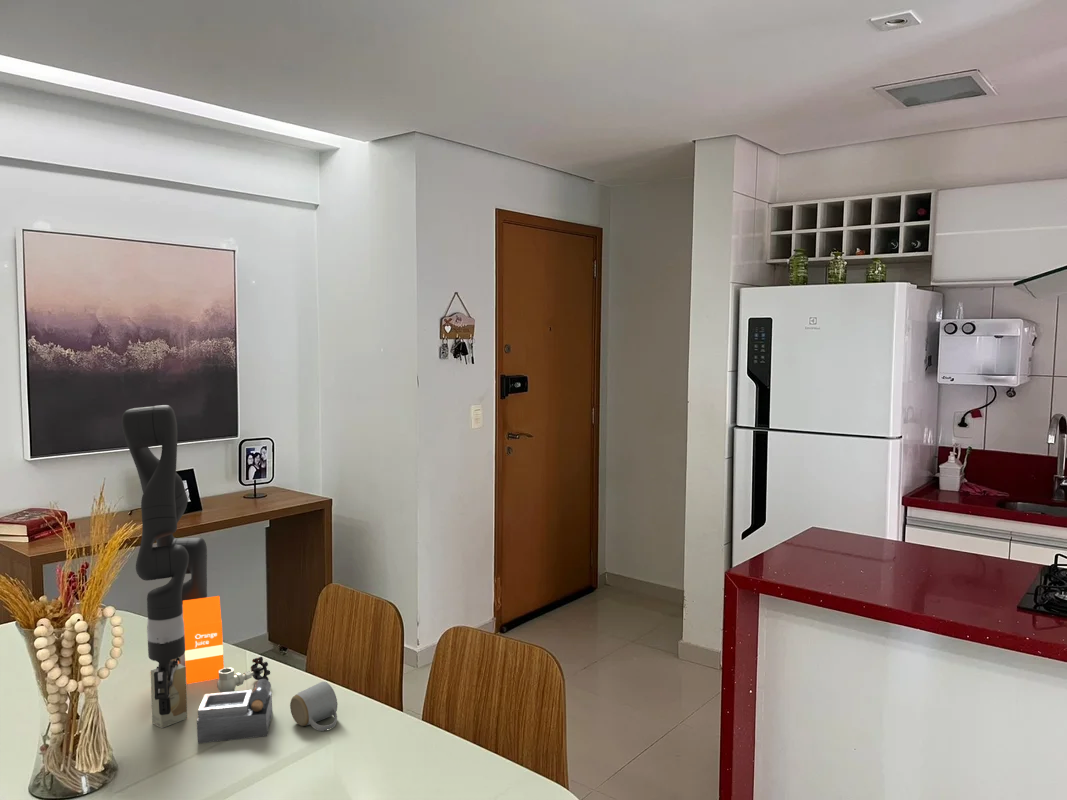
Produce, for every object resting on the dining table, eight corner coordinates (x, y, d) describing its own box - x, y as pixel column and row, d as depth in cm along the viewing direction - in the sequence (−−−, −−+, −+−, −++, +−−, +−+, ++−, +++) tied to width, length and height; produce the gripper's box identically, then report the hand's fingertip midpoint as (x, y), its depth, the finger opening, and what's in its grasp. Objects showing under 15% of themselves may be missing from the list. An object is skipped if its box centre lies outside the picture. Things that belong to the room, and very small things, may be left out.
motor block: (207, 719, 184) (205, 682, 183) (272, 712, 186) (271, 676, 186) (197, 743, 173) (195, 704, 172) (266, 736, 176) (265, 697, 175)
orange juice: (185, 672, 209) (181, 596, 207) (222, 666, 212) (219, 591, 210) (186, 684, 201) (182, 605, 200) (224, 677, 205) (221, 600, 203)
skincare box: (161, 729, 179) (158, 675, 178) (151, 723, 182) (148, 670, 181) (189, 718, 184) (186, 665, 183) (178, 712, 187) (176, 660, 186)
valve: (227, 704, 191) (271, 685, 201) (226, 676, 190) (270, 659, 200) (211, 696, 195) (254, 679, 205) (210, 670, 194) (253, 653, 204)
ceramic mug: (288, 721, 182) (287, 688, 181) (319, 708, 188) (318, 676, 187) (315, 738, 175) (314, 703, 174) (347, 724, 181) (346, 690, 180)
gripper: (155, 624, 187) (159, 693, 189) (139, 648, 173) (143, 722, 175) (190, 622, 189) (193, 689, 190) (177, 645, 175) (180, 718, 176)
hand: (169, 705), depth 183 cm, fingers open, 8 cm apart
